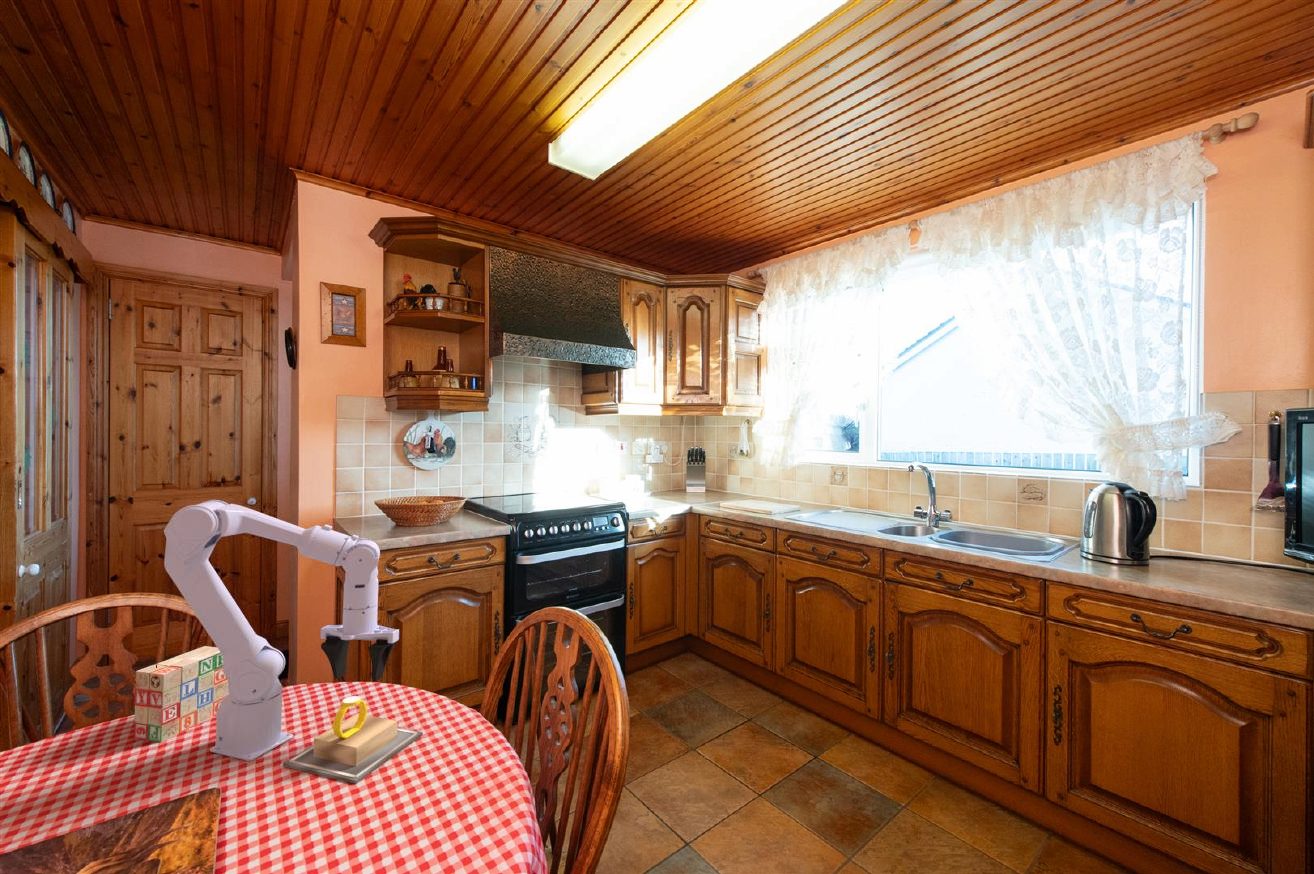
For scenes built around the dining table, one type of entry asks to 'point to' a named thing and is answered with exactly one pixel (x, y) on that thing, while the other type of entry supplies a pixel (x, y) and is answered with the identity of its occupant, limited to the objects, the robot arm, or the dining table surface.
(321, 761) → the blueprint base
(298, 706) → the dining table surface
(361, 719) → the watch
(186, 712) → the stack of blocks
